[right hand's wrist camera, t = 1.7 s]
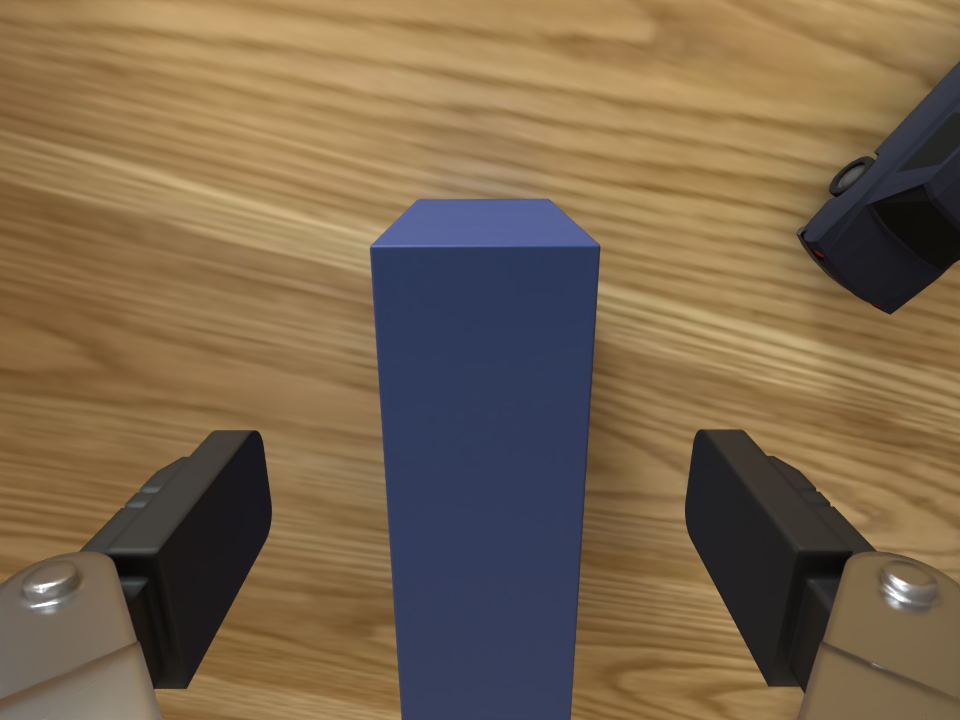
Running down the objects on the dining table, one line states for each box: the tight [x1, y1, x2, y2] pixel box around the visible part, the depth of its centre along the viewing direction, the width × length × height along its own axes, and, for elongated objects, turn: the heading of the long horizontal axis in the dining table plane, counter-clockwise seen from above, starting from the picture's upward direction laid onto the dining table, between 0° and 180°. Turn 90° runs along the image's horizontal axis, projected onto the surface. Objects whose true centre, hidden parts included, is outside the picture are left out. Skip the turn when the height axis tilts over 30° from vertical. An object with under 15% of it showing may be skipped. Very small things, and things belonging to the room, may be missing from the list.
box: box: [370, 199, 600, 720], centre depth 27 cm, size 27×6×13 cm, turn 0°
